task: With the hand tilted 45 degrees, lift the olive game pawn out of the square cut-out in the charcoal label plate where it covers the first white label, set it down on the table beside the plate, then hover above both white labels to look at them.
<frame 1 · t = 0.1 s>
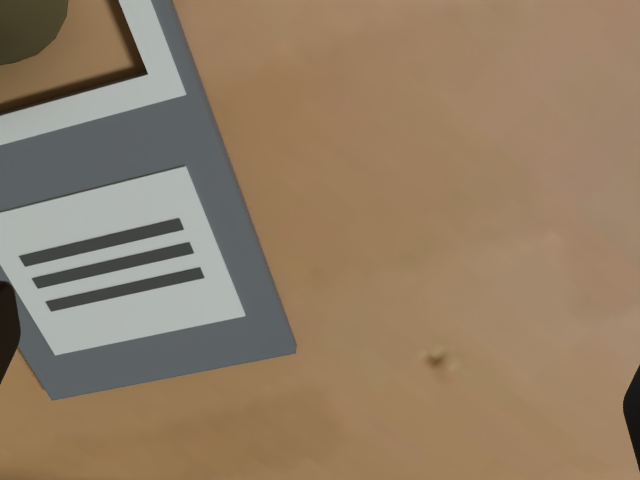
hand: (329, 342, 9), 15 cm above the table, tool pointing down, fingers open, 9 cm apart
label plate: (59, 139, 23), on the table
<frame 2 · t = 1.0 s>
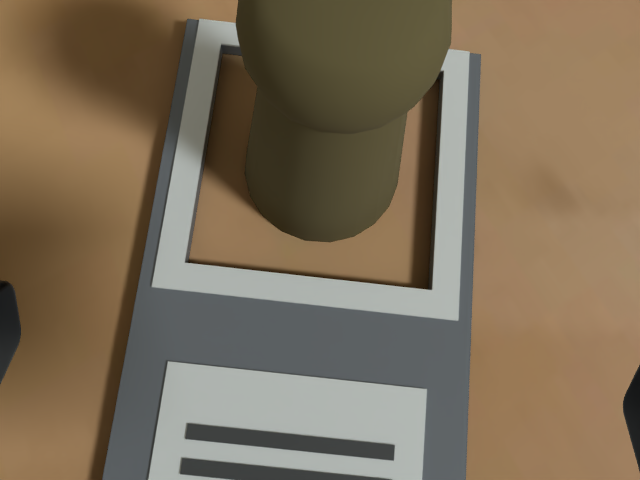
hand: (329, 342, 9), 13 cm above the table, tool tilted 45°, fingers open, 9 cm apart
label plate: (303, 320, 22), on the table
olive game pawn: (321, 169, 24), resting in label plate
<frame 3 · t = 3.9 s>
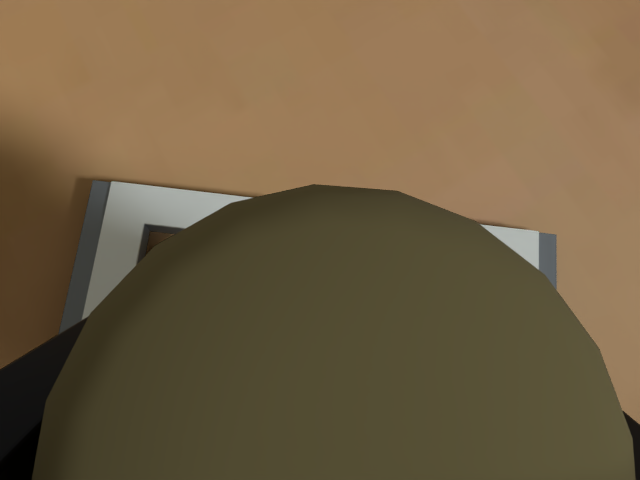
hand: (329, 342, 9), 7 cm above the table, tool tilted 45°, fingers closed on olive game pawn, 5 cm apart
olive game pawn: (304, 429, 15), resting in label plate, touching gripper
when the fingers open (7 cm above the table, at t = 8.2 s): olive game pawn stays where it is, on the table.
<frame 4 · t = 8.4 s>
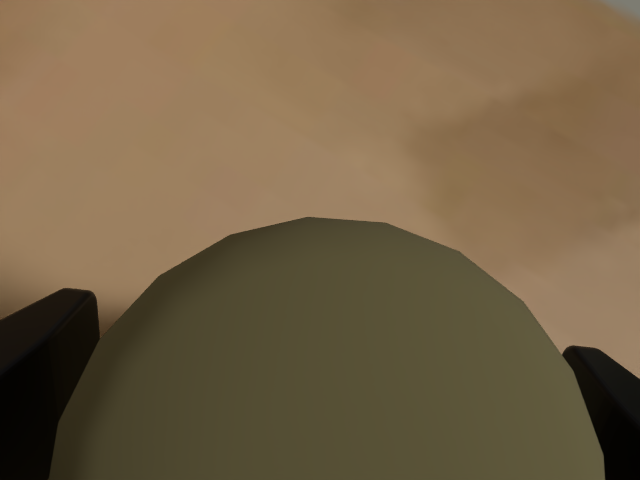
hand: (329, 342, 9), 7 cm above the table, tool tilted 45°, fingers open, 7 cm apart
olive game pawn: (301, 434, 15), on the table
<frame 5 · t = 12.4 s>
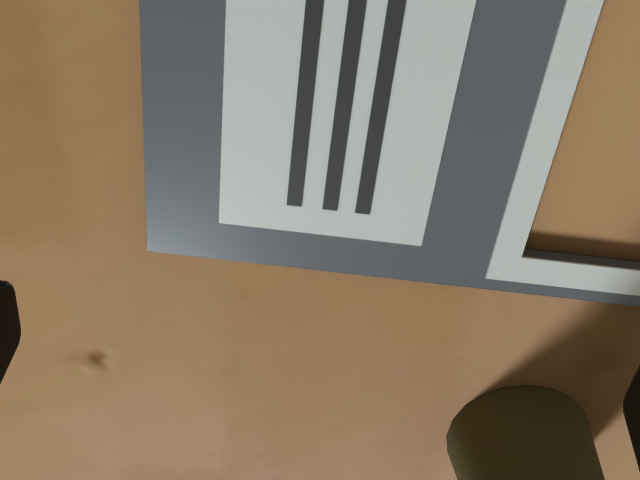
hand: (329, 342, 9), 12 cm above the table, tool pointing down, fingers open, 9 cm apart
label plate: (508, 120, 19), on the table
olive game pawn: (515, 434, 26), on the table
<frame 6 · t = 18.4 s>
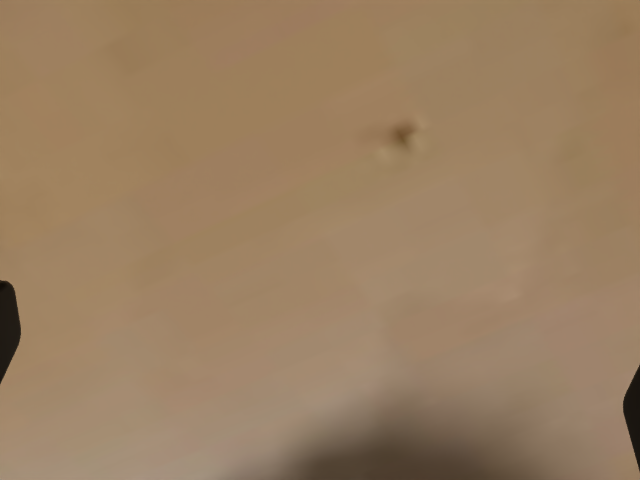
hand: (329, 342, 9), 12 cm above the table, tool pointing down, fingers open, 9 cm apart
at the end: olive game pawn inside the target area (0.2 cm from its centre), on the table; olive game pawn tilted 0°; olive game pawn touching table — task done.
